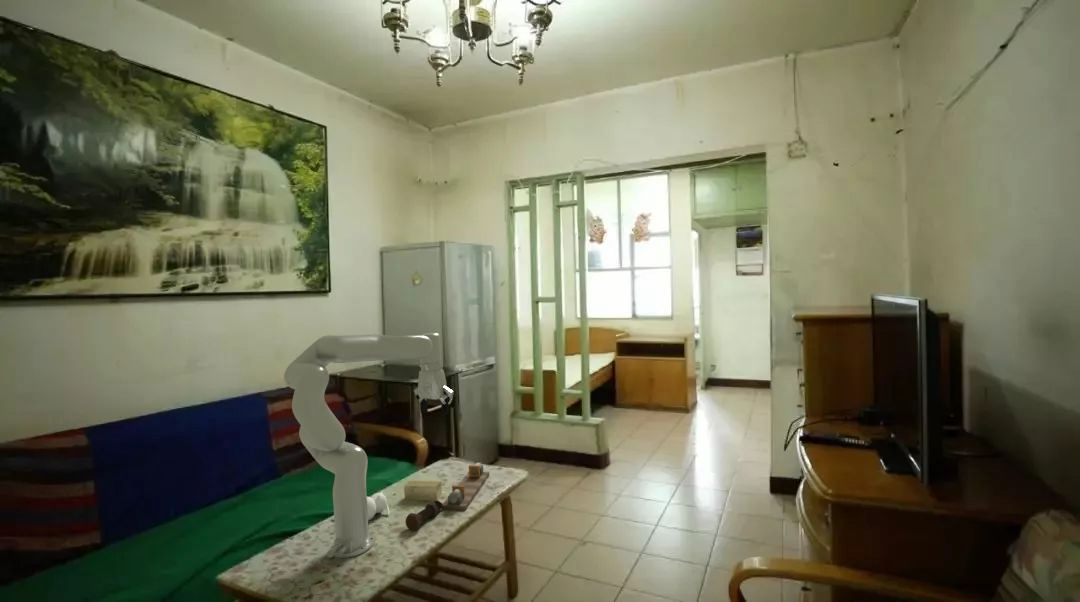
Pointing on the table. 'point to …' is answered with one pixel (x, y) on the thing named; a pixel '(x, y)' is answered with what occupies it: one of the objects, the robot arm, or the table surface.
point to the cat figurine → (376, 504)
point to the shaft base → (466, 489)
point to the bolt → (422, 515)
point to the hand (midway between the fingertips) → (434, 413)
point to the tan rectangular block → (422, 490)
